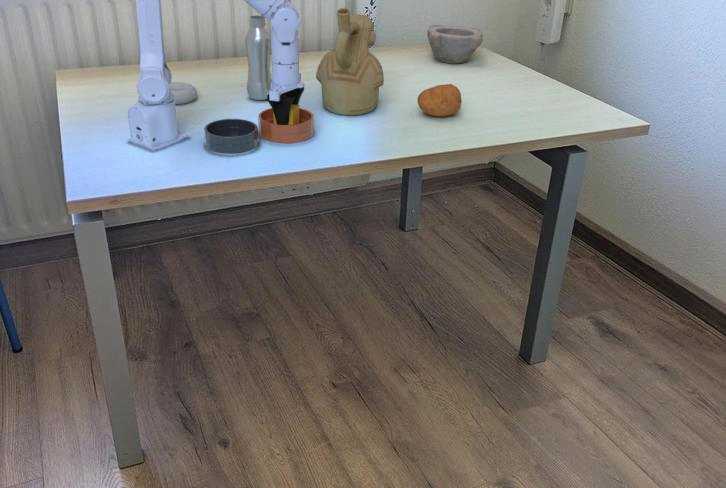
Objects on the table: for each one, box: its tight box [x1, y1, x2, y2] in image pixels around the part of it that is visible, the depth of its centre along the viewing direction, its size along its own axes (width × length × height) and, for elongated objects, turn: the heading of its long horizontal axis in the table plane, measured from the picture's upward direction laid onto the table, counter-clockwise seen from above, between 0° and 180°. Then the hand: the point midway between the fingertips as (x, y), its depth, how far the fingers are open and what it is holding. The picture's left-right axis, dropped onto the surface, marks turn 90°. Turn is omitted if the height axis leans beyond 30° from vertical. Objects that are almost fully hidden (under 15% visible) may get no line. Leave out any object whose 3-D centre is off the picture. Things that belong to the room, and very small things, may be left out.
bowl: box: [257, 107, 315, 144], centre depth 147 cm, size 12×12×4 cm
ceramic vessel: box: [315, 7, 385, 116], centre depth 160 cm, size 17×20×25 cm
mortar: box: [426, 24, 484, 65], centre depth 206 cm, size 17×17×9 cm
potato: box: [416, 83, 462, 118], centre depth 162 cm, size 9×11×8 cm
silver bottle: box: [244, 15, 272, 101], centre depth 164 cm, size 6×7×20 cm
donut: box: [169, 81, 198, 105], centre depth 165 cm, size 10×4×10 cm
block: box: [273, 104, 300, 125], centre depth 147 cm, size 4×4×6 cm
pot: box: [203, 118, 259, 155], centre depth 141 cm, size 11×11×4 cm
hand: (286, 122), depth 147 cm, fingers closed on block, 4 cm apart
